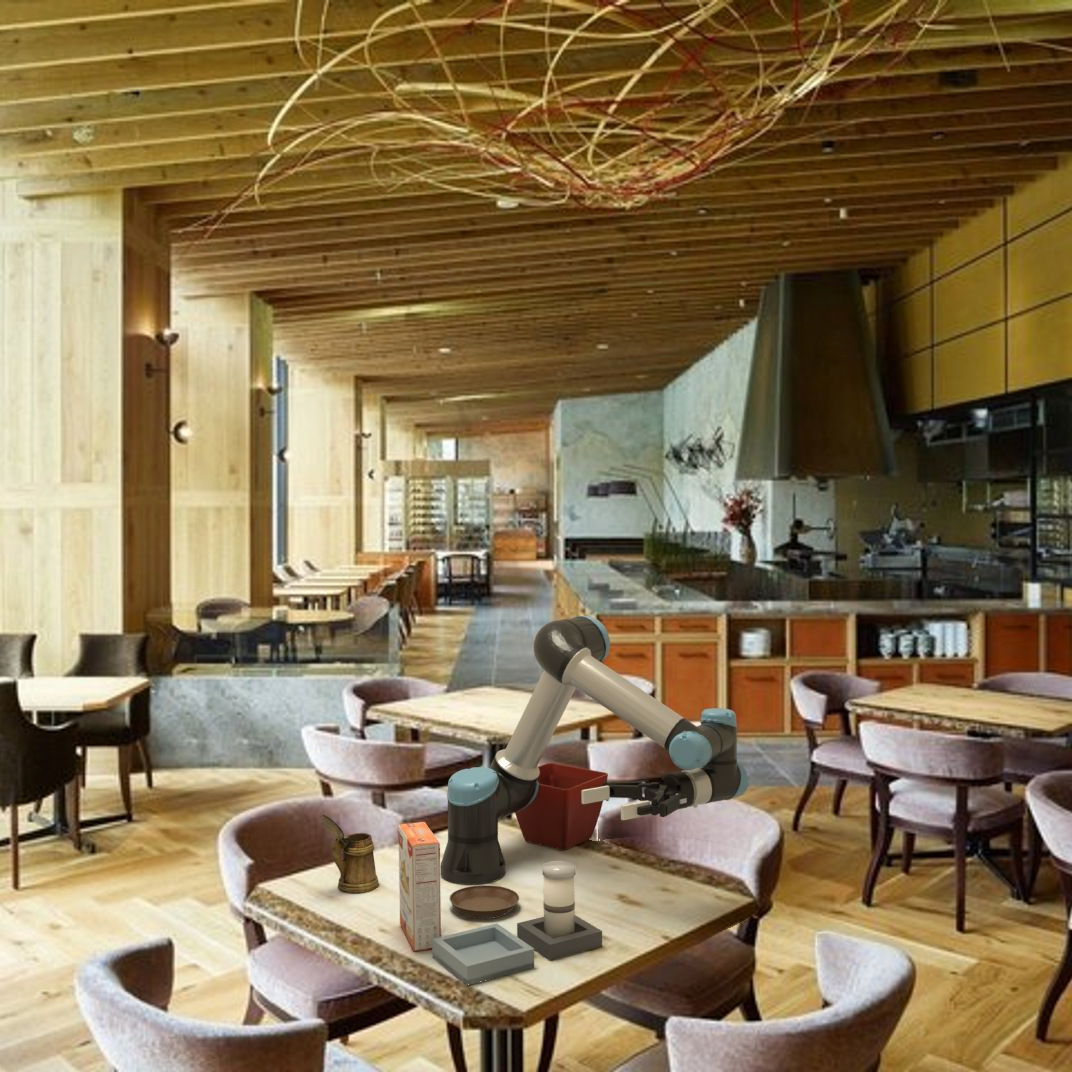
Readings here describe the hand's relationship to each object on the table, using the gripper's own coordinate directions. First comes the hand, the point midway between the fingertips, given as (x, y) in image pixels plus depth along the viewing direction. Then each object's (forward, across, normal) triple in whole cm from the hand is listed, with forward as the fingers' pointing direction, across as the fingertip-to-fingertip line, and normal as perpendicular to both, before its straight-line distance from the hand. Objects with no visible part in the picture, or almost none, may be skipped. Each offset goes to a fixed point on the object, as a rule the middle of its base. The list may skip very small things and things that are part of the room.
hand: (601, 804), depth 206 cm
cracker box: (+32, +18, -26) cm, 45 cm away
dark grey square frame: (+10, +1, -26) cm, 27 cm away
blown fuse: (+10, +1, -26) cm, 27 cm away
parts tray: (+27, +1, -26) cm, 37 cm away
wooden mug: (+34, +50, -25) cm, 65 cm away
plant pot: (-24, +54, -26) cm, 64 cm away
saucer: (+14, +24, -26) cm, 38 cm away
